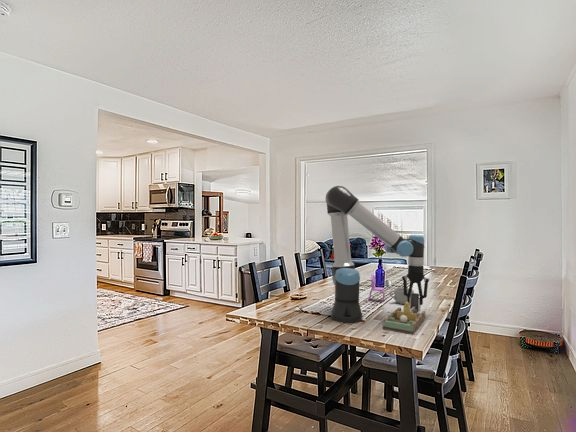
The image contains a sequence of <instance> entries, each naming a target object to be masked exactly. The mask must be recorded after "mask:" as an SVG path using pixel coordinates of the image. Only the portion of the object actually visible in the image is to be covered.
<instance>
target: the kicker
mask: <svg viewBox="0 0 576 432" xmlns="http://www.w3.org/2000/svg"><path fill="white" fill-rule="evenodd" d="M418 298H420V296H419V293H415V292H414V293H412V296H411V309H410V306H409V302H405V304H403V311H402V310H401V311H397V318H400V316H401V315H405V316H406V317H407V319H408V320H414V321H415V320H416V318H417V315H418V313H419V311H418ZM412 309H417V314H414V313H412Z"/></svg>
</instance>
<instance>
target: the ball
mask: <svg viewBox="0 0 576 432" xmlns="http://www.w3.org/2000/svg"><path fill="white" fill-rule="evenodd" d="M407 320H408V319H407V317H406V316H405V315H401V316H400V321H401V322H402V323H406V322H407Z"/></svg>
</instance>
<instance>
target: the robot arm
mask: <svg viewBox="0 0 576 432" xmlns="http://www.w3.org/2000/svg"><path fill="white" fill-rule="evenodd" d="M325 203H326V208H327V209H326V210H327V212H326V213H327V215H328V216H329V217H330V223H331V224H330V225H331V235H332V247H333V259H334V263H333V264H332V265H331V267H332V269H331V270H332V277H331V278H332V283H333V285H334V303H333V305H332V310H331V312H330V319H332V320H334V321H337V322H341V323H358V322H361V321H363V313H362V310H361V309H362V308H361V306H360V282H361V281H360V280H361V276H360V271H359V270H357V269H356V268H355V263H354V262H353V261H352V256H351V255H352V254H351V245H350V244H351V243H350V232H349V220H348V216H350V217H351V218H353V220H355V221H356V222H357V223H359V224H360V225H361V226H363V227H364V228H365V229H366V230H368V231H369V233H371V234H372V235H374V236H375V237H376V238H378V239H379V240H380V241H381V242H382V243H384V251H385V253H388V254H396V255H399V256H400V257H405V258H407V257H408V261H407V262H408V266H407V274H406V275H403V276H402V277H401V279H402V282H403V284H402V285H403V288H404V295H405V296H407V302H409V305H408V306H410V309H411V297H410V296H411V292H412V290H413V286H414V284H416V285H417V289H418V294H419V298H418V313H419V312H420V313H421V307H422V306H423V304H424V299H426V298H427V296H428V286H429V282H430V278H428V277H425V275H424V272H425V271H424V270H425V269H424V267H425V266H424V263H425V261H424V260H425V257H424V256H425V255H424V254H425V237H424V236H423V235H421V234H410V235H409V236H408V238H404V237H402V235H400V234H399V233H397V232H396V231H395V230H393V228H391V227H390V226H389V225H387V224H386V223H385V222H384V221H383V220H381V219H380V218H379V217H378V216H376V215H375V214H374V213H372V212H371V211H370V210H369V209H368V208H367V207H365V206H364V205H362V203H360V199H359V198H357V197H356V196H355V195H354V194H353V193H352V192H351V191H350V190H349V189H348V188H346V187H345V186H343V185H335V186H333V187H331V188H330V189H329V190H328V191H327V192H326V195H325ZM407 280H409V281H410V282H409V287H408V281H407ZM422 281H423V282H424V286H422ZM422 287H423V288H422ZM407 288H408V289H409V290H408V293H407Z"/></svg>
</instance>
